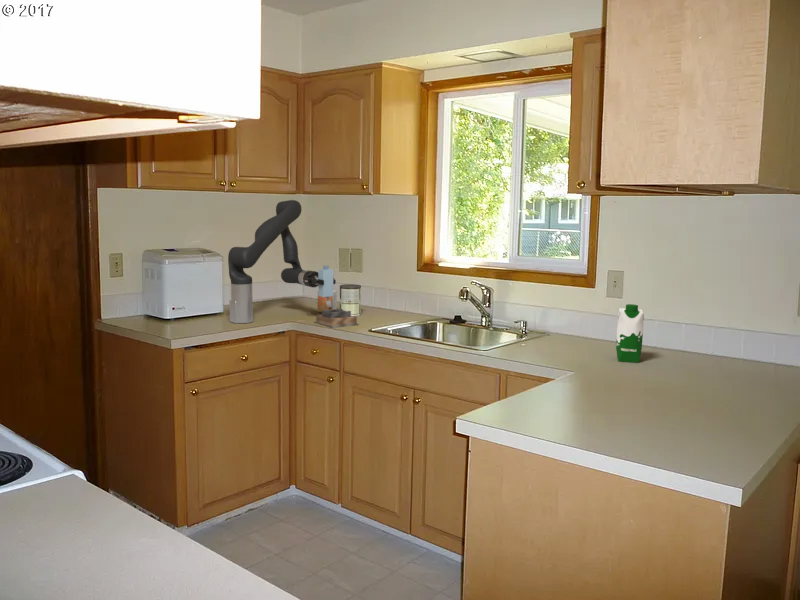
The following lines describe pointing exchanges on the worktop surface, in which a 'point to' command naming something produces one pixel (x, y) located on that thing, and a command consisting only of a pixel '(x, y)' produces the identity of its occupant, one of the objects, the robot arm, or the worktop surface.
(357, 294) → the coffee can
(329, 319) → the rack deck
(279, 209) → the robot arm
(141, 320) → the worktop surface
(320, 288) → the blue rectangular bottle
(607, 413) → the worktop surface
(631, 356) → the milk carton
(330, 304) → the small box
